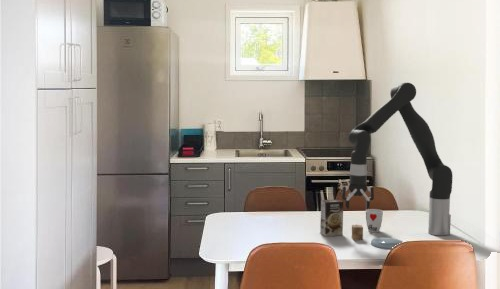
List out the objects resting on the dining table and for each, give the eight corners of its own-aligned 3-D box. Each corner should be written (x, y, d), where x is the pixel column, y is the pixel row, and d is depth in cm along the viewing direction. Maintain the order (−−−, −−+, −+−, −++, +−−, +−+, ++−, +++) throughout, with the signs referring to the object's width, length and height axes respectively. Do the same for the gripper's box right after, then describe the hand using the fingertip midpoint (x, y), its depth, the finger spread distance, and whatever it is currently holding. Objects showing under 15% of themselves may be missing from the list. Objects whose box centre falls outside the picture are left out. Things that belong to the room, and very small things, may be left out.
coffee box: (325, 236, 262) (325, 202, 260) (319, 233, 268) (320, 199, 267) (343, 235, 264) (343, 201, 263) (337, 231, 271) (337, 198, 269)
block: (361, 237, 260) (361, 225, 259) (362, 240, 255) (363, 227, 255) (351, 237, 260) (351, 224, 259) (352, 240, 256) (353, 227, 255)
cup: (361, 230, 273) (362, 210, 272) (372, 228, 278) (372, 208, 277) (375, 234, 266) (375, 213, 265) (385, 231, 272) (386, 210, 271)
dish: (400, 240, 255) (400, 237, 254) (406, 249, 241) (406, 246, 241) (368, 240, 255) (368, 237, 255) (373, 248, 241) (373, 245, 241)
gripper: (372, 172, 258) (371, 207, 260) (341, 172, 259) (340, 206, 261) (375, 175, 251) (374, 210, 252) (343, 174, 252) (342, 210, 253)
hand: (357, 208), depth 257 cm, fingers open, 8 cm apart
